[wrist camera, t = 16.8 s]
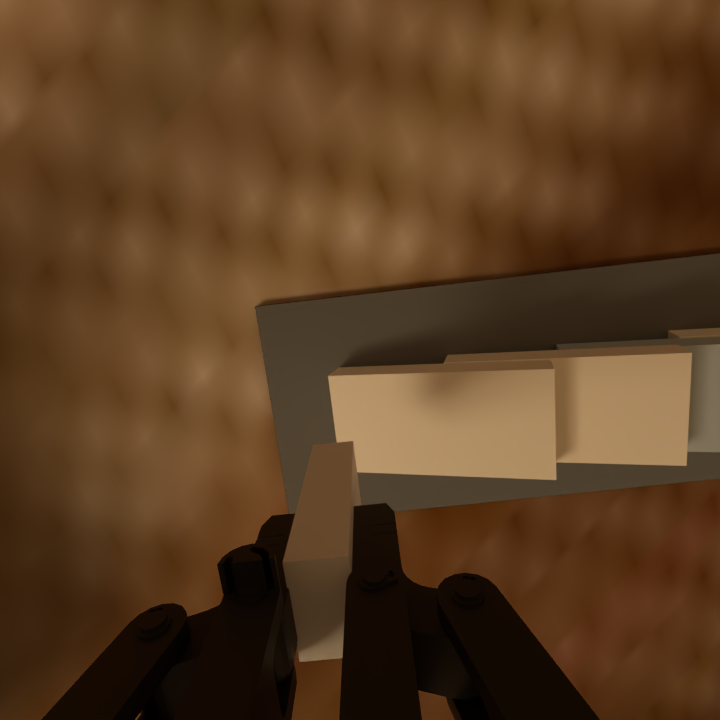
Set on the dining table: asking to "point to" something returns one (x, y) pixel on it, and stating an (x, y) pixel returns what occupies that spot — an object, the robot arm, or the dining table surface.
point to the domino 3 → (707, 390)
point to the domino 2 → (615, 402)
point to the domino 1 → (449, 418)
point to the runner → (472, 336)
